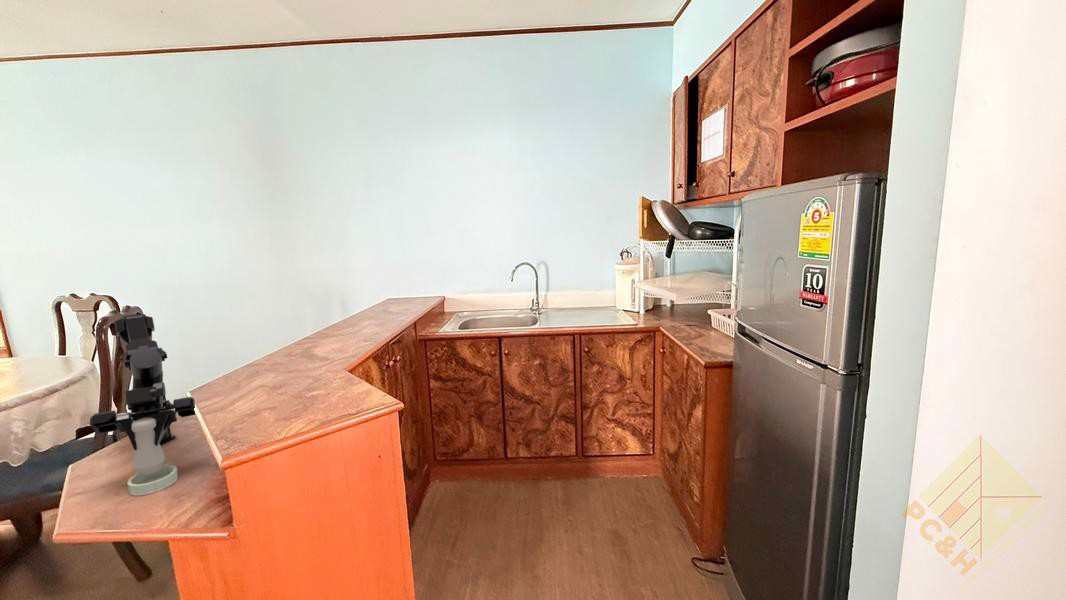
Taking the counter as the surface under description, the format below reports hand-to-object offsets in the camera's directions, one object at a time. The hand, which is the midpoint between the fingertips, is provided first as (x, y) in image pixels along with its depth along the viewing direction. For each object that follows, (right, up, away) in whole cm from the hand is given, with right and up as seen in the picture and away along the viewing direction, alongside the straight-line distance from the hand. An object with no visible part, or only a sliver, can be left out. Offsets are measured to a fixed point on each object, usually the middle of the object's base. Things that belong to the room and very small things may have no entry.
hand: (146, 447), depth 99 cm
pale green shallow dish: (0, -10, +3) cm, 10 cm away
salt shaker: (-1, -7, +2) cm, 7 cm away
